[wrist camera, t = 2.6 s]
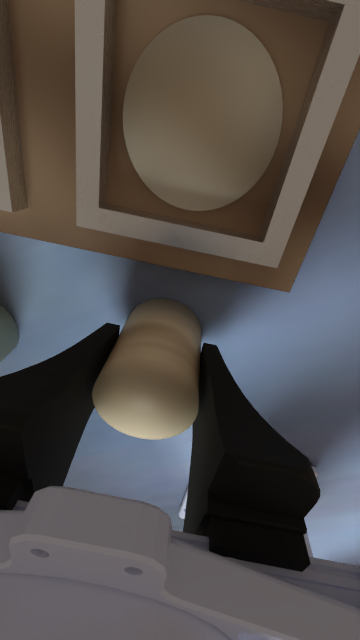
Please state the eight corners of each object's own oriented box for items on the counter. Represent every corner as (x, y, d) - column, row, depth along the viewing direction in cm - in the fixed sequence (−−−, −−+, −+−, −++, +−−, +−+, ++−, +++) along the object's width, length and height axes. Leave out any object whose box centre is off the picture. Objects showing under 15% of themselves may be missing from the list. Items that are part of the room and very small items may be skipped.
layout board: (283, 283, 13) (295, 302, 11) (-152, 191, 12) (-211, 196, 11) (419, -48, 8) (482, -109, 6) (-316, -219, 7) (-478, -336, 6)
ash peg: (192, 368, 16) (186, 447, 11) (123, 354, 16) (91, 428, 11) (209, 307, 14) (209, 375, 9) (129, 291, 14) (93, 352, 9)
